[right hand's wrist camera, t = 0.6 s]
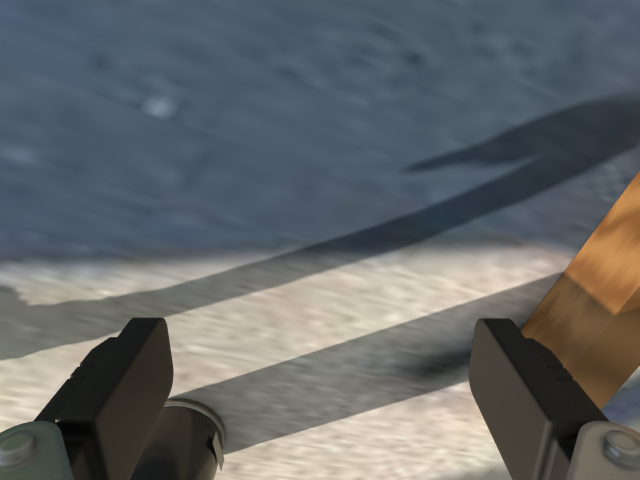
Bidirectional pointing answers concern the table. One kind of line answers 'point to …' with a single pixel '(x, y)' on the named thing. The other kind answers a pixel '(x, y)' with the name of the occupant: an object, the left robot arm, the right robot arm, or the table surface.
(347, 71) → the table surface
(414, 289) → the table surface
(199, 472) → the left robot arm
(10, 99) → the table surface
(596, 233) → the post
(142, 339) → the right robot arm
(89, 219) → the table surface
